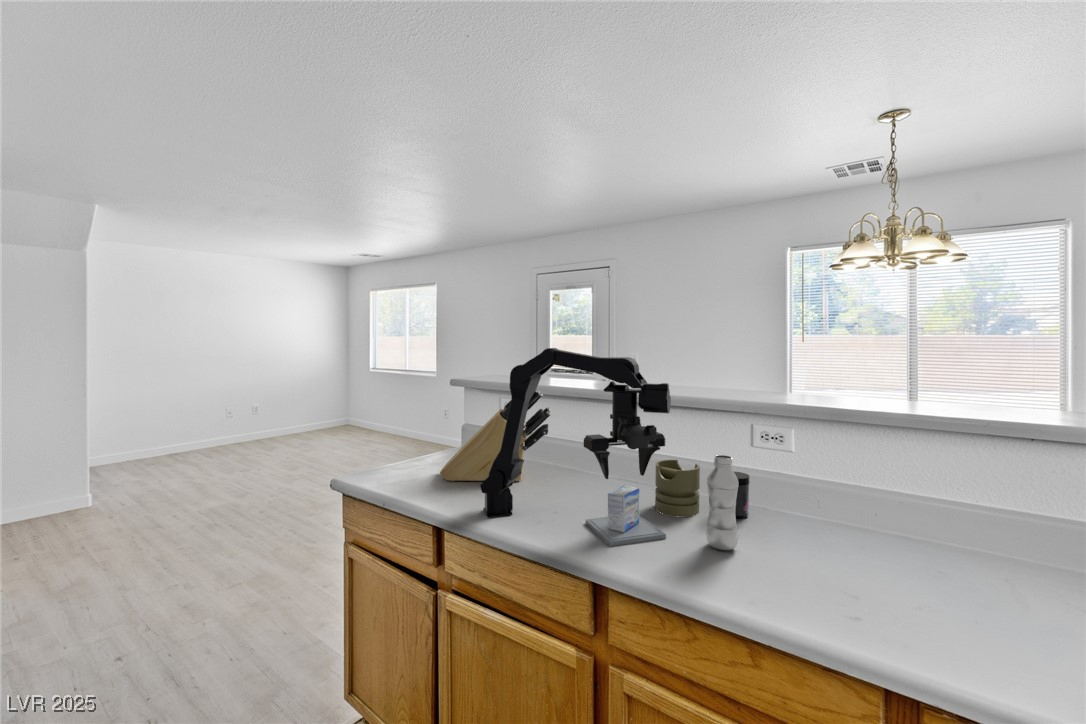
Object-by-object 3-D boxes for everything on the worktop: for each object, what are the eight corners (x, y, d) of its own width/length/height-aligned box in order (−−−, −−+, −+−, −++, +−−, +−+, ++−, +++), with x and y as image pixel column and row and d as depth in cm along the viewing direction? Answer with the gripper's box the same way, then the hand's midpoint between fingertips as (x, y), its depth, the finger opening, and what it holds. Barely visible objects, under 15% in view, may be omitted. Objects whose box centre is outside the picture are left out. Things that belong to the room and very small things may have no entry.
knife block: (551, 482, 158) (550, 384, 156) (439, 482, 158) (438, 384, 157) (551, 472, 169) (550, 381, 167) (446, 472, 170) (445, 381, 168)
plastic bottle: (723, 556, 105) (724, 462, 104) (699, 544, 111) (700, 455, 110) (744, 550, 108) (746, 458, 107) (720, 539, 114) (722, 452, 113)
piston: (685, 473, 125) (647, 464, 133) (685, 520, 126) (646, 509, 134) (707, 464, 133) (670, 457, 141) (707, 509, 133) (669, 499, 142)
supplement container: (744, 521, 125) (745, 480, 124) (717, 515, 129) (717, 475, 128) (752, 513, 130) (753, 474, 130) (725, 508, 134) (726, 469, 134)
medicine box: (624, 533, 115) (624, 496, 114) (607, 529, 117) (607, 492, 117) (639, 523, 121) (640, 487, 120) (623, 519, 124) (623, 484, 123)
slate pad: (609, 546, 110) (609, 541, 110) (585, 523, 124) (585, 519, 124) (665, 538, 114) (666, 533, 114) (636, 517, 128) (636, 512, 128)
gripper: (602, 418, 107) (602, 490, 108) (678, 414, 113) (678, 482, 113) (582, 411, 118) (582, 477, 118) (653, 407, 123) (653, 470, 124)
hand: (624, 477), depth 118 cm, fingers open, 9 cm apart
